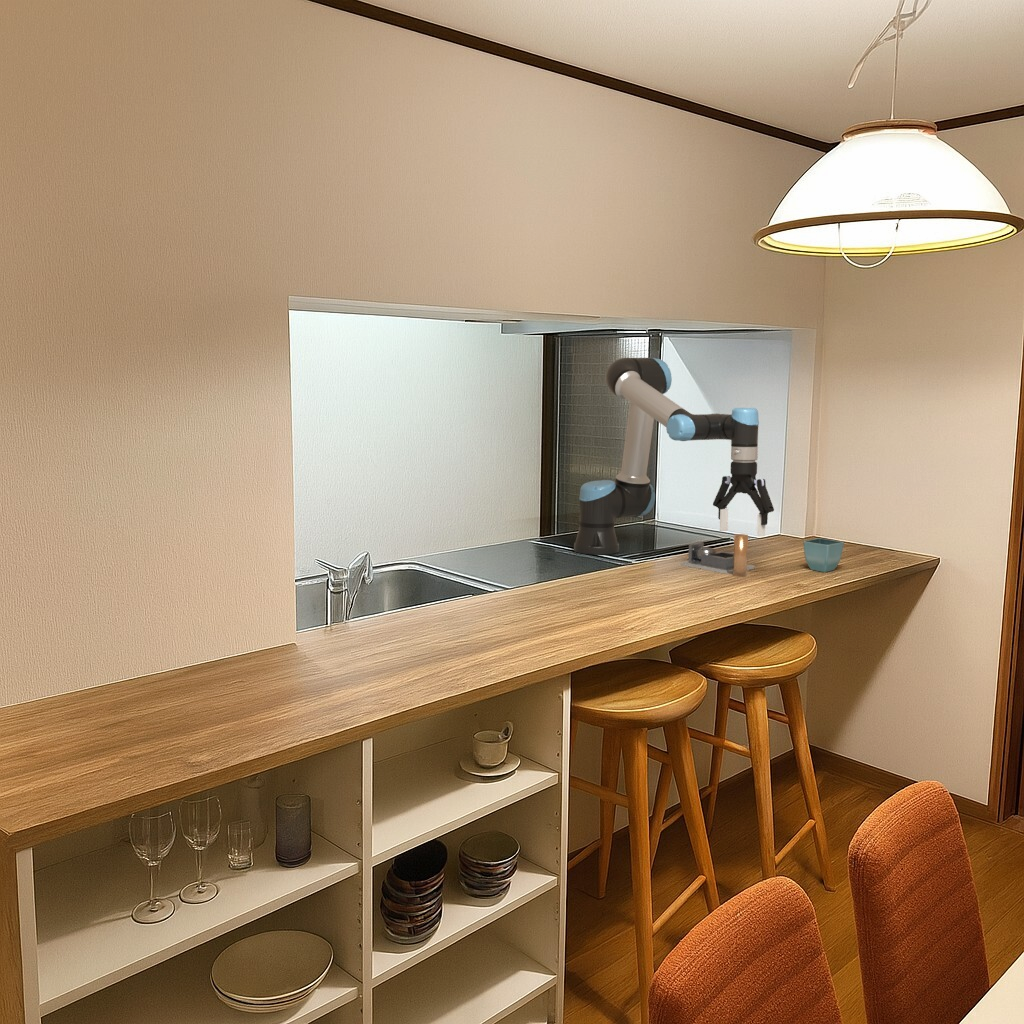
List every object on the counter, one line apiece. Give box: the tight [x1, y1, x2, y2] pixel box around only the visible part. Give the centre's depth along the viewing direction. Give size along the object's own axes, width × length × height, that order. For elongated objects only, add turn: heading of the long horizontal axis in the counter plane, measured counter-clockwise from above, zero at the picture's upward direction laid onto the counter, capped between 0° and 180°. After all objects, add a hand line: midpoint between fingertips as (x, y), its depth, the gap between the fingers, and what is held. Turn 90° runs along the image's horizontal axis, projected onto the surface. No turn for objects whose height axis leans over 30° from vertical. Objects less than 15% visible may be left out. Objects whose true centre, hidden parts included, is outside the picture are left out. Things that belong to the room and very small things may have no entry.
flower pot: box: [803, 537, 845, 573], centre depth 296 cm, size 9×9×9 cm
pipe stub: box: [732, 533, 749, 578], centre depth 288 cm, size 4×4×12 cm
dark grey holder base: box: [680, 541, 755, 575], centre depth 301 cm, size 18×13×6 cm
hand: (742, 533), depth 287 cm, fingers open, 13 cm apart
